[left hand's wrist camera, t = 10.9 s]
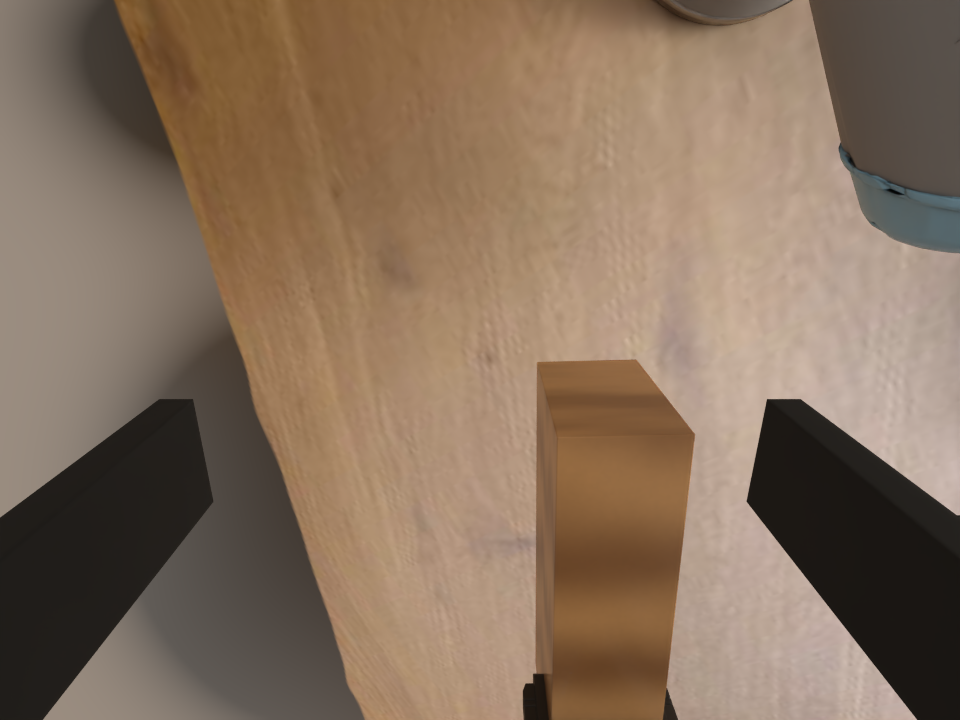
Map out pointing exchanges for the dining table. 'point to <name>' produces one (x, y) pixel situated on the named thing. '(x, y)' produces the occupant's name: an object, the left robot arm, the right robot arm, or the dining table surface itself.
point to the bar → (607, 537)
